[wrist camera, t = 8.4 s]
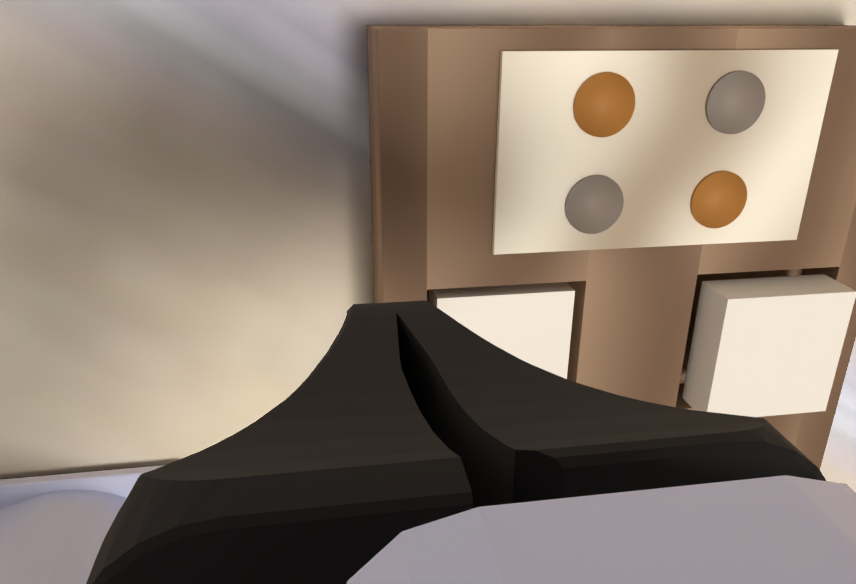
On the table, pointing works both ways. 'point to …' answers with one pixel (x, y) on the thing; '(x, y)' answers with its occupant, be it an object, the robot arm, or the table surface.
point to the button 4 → (767, 344)
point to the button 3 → (517, 319)
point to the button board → (616, 177)
